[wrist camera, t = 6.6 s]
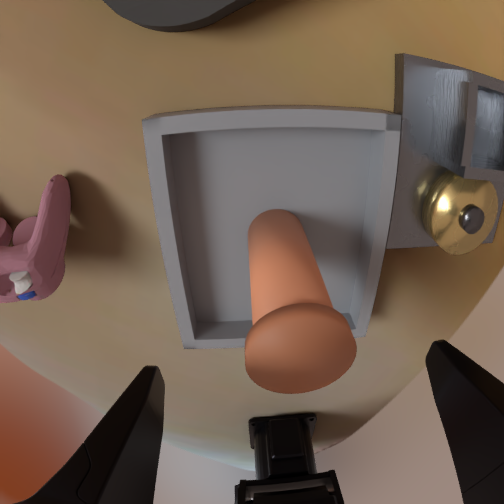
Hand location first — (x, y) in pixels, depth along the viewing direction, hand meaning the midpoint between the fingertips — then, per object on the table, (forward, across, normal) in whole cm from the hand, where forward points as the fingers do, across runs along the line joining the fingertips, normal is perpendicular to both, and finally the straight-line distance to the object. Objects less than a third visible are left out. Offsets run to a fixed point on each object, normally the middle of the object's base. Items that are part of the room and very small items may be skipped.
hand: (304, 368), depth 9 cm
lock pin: (+9, 0, 0) cm, 9 cm away
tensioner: (+10, -11, -4) cm, 15 cm away
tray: (+10, 0, 0) cm, 10 cm away
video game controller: (+10, +16, -2) cm, 19 cm away
